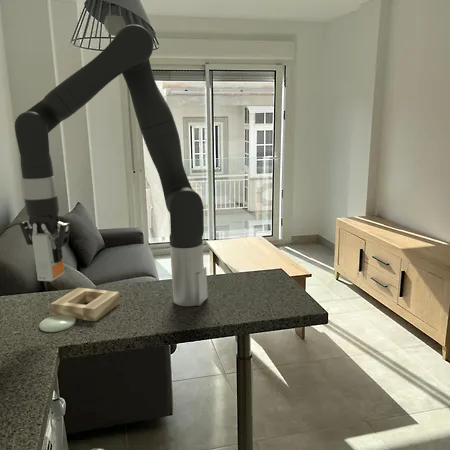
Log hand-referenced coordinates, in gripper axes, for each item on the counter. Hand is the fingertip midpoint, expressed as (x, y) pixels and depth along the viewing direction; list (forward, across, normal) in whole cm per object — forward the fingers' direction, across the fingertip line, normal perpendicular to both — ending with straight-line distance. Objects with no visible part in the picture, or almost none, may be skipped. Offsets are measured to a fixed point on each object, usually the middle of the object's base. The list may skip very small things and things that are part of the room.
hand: (49, 261), depth 112 cm
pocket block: (+18, -2, -10) cm, 20 cm away
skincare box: (+5, 0, 0) cm, 5 cm away
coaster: (+18, 0, 0) cm, 18 cm away
